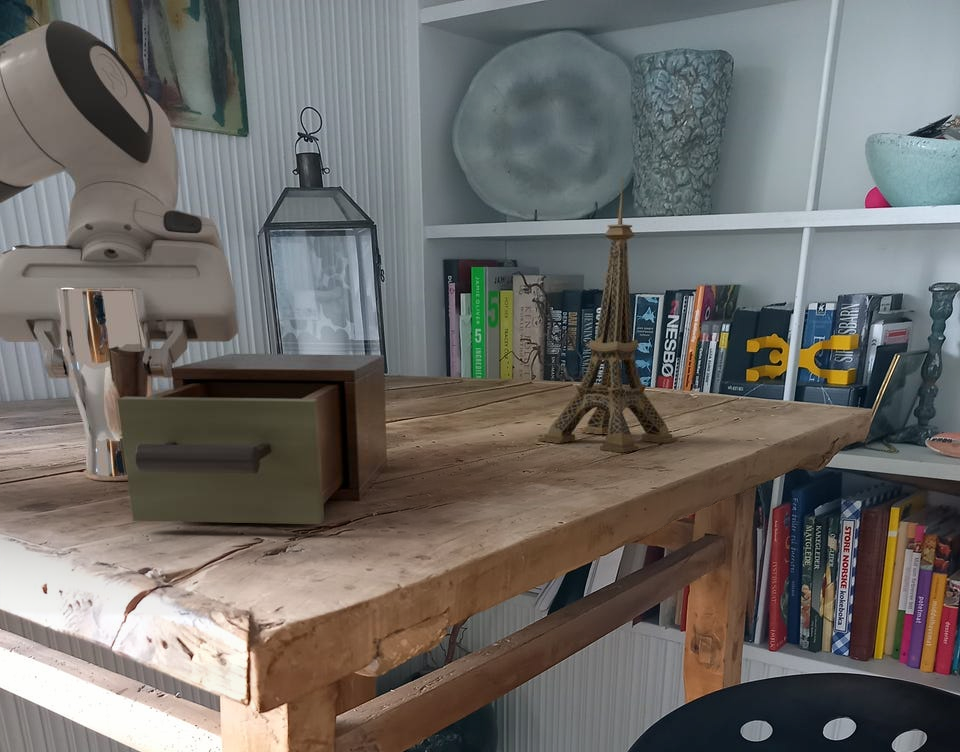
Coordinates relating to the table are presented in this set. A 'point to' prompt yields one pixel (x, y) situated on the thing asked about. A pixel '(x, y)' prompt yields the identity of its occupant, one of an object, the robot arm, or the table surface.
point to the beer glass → (104, 365)
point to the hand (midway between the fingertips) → (109, 373)
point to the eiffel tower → (612, 366)
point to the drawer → (235, 451)
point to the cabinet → (353, 370)
